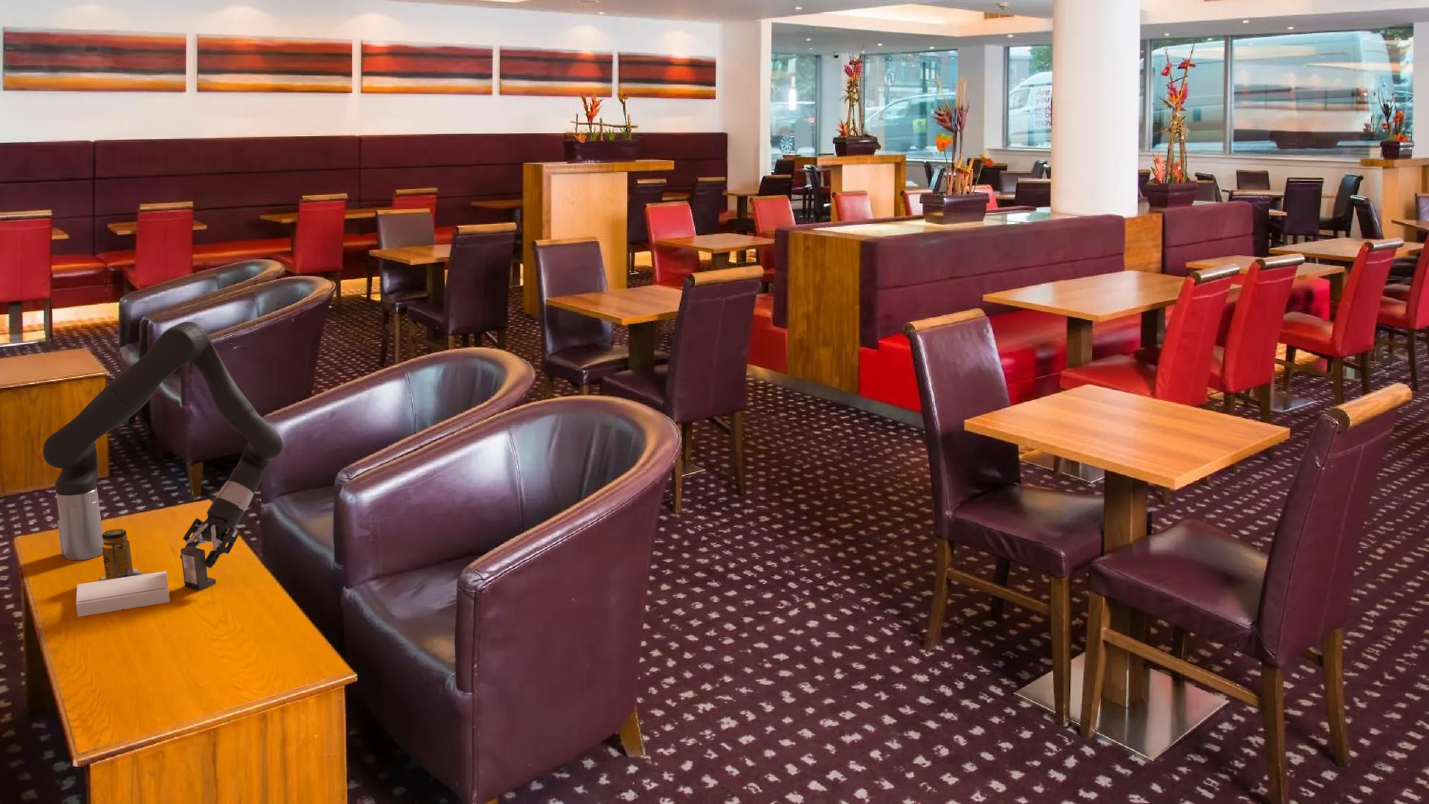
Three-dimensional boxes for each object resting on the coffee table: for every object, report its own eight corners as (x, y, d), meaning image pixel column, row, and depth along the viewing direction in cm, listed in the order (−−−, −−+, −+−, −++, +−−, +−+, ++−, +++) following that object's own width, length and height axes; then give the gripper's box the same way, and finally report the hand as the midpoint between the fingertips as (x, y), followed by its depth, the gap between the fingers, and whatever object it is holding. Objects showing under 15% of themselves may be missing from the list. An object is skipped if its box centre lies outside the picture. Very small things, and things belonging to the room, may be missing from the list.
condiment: (99, 579, 293) (93, 532, 290) (134, 569, 299) (128, 523, 297) (113, 586, 289) (106, 539, 286) (148, 576, 295) (142, 529, 292)
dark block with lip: (184, 586, 288) (179, 549, 286) (201, 579, 293) (197, 542, 290) (199, 591, 286) (195, 553, 283) (217, 584, 290) (213, 546, 288)
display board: (77, 616, 271) (76, 604, 271) (79, 596, 283) (77, 584, 282) (170, 602, 279) (168, 589, 279) (167, 582, 291) (166, 570, 290)
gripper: (200, 492, 294) (164, 551, 288) (240, 501, 288) (204, 561, 281) (221, 506, 300) (186, 564, 293) (260, 515, 293) (225, 575, 286)
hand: (195, 563), depth 287 cm, fingers open, 8 cm apart
